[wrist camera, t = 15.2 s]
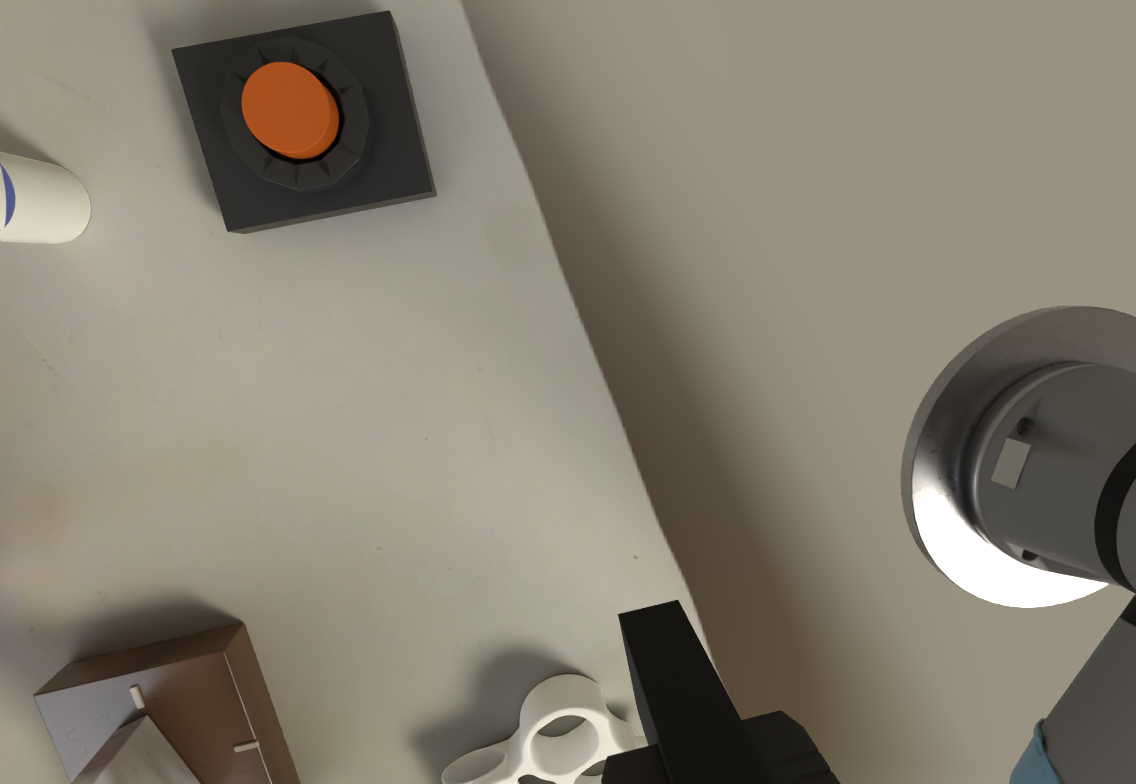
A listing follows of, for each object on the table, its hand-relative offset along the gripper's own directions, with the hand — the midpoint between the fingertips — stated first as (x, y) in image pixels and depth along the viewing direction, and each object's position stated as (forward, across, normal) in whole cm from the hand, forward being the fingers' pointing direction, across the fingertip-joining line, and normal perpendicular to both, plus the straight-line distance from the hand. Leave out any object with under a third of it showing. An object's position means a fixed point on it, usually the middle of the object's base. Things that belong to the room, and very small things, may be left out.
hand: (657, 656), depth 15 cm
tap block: (+24, -28, -15) cm, 40 cm away
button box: (+24, -10, +19) cm, 33 cm away
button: (+21, -10, +19) cm, 30 cm away
